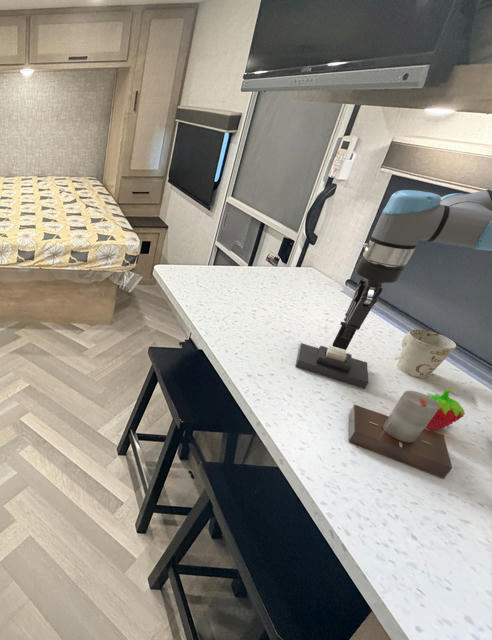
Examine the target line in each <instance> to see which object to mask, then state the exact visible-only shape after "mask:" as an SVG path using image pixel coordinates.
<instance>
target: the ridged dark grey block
mask: <svg viewBox="0 0 492 640" xmlns="http://www.w3.org/2000/svg"><path fill="white" fill-rule="evenodd" d="M327 349H328V347H327V346H323V345H319V347H316V346H313V345H309V344H306V343H303V342H302V343H300V345H299V348H298V350H297V355H296V361H295V366H294V367H295V368H298V369H301V370H303V371H307V372H310V373H312V374H316V375H318V376H319V375H320V376H322V377H325V378H327V379H332V380H335V381H338V382H341V383H344V384H346V385H349V386H350V385H351V386H353V387H357V388H359V389H363V390H365V389H366V388H367V386H368V384H369V373H368V372H369V368H368V362H367V361H363V360H359V359H357V358H353V357H352V353H351V354H350V353H348V352H346V359H345V361H344V362H342V361H338V360H335V359H332V358H328V357H326V351H327Z"/></svg>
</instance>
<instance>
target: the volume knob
mask: <svg viewBox="0 0 492 640" xmlns="http://www.w3.org/2000/svg"><path fill="white" fill-rule="evenodd" d="M428 395H429V394H426V393H423V392H420V391H415V390H405V391H404V392H403V393H402V394H401V397H400V398H399V400H398V401H397V403H396V404H395V406H394V407H393V409H392V411H391V412H390V413H389V415H388V416H389V417H388V419H387V420H386V422H385V423H384V425H383V429H384V431H385V432H386V433H388V434H389V435H390V436H392V437H394V438H395V439H398V440H400V441H403V442H408V443H413V442H415V441H416V440H417V439H418V437H419V436H420V434H421V433H422V432H423V430H424V429H426V428H427V427H426V426H427V424H428V423H429V422H430V420H431V419H432V417H433V416H434V415H435V413H436V412H437V410H438V409H439V407H440V404H439V403H438V402H437V401H436V400H435V399H433V398H432V397H430V396H428Z"/></svg>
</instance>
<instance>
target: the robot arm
mask: <svg viewBox="0 0 492 640" xmlns="http://www.w3.org/2000/svg"><path fill="white" fill-rule="evenodd" d="M420 241H423V242H430V243H435V244H436V243H437V244H443V245H449V246H454V247H455V246H456V247H460V248H461V247H462V248H467V249H468V248H469V249H473V250H475V251H489V252H492V188H489V189H484V190H479V191H475V192H471V193H463V192H459V193H458V192H455V193H450V194H449V193H448V194H446V195H444V196H441V195H439V194H437V193H434V192H430V191H423V190H416V189H414V190H413V189H403V190H402V189H401V190H397V191H395V192H394V193H393V194H391V196H390V198H389V200H388V201H387V203H386V205H385V207H384V208H383V209H382V212H381V213H380V216H379V218H378V220H377V223H376V225H375V227H374V229H373V232H372V234H371V236H370V238H369V240H368V243H366V242H365V243H363V244H362V246H363V248H364V250H363V253H362V257H360V258H359V261H358V263H357V265H356V267H355V269H354V273H355V274H356V275H357V276H358V277H360V279H359V280H358V283H357V287H356V290H354V291H355V292H354V293H353V294H354V295H353V297H352V299H351V301H350V304H349V306H348V308H347V311H346V312H345V314H344V316H345V317H344V318H343V321H340V328H339V330H338V332H337V334H336V336H335V338H334V340H333V342H332V347H335V348H338V349H342V350H345V351H347V349H348V347H349V345H350V344H351V342H352V339H353V338H354V335H355V334H356V332H357V331H359V330H360V329H361V327H362V325H363V324H364V322H365V320H366V318H367V317H368V315H369V313H370V312H371V310H372V308H373V307H374V306H375V304H376V303H377V302H378V297H379V296H380V295H381V293H382V292H383V288H382V287H383V284H386V283H387V284H392V283H397V281H398V280H399V279H400V277H401V276H402V273H403V271H404V269H405V267H404V266H406V265H407V264H408V262H409V261H410V259H411V257H412V255H413V254H414V252H415V250H416V247H417V245H418V244H419V242H420Z"/></svg>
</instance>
